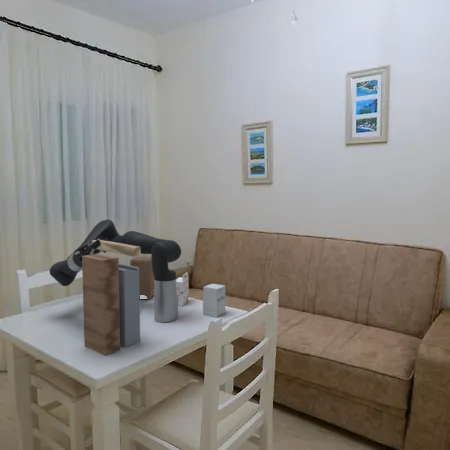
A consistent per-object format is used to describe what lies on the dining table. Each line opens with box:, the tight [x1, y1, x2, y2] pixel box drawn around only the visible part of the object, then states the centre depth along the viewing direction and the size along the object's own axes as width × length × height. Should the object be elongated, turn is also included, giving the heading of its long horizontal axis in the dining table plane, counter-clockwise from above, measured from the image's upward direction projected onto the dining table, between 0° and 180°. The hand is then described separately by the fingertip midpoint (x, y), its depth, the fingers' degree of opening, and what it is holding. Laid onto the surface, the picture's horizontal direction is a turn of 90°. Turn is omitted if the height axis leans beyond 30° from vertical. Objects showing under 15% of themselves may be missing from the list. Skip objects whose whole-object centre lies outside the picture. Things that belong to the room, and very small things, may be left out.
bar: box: [92, 240, 141, 258], centre depth 138 cm, size 3×24×3 cm, turn 53°
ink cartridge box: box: [176, 271, 189, 307], centre depth 183 cm, size 9×5×15 cm, turn 168°
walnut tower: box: [81, 253, 121, 356], centre depth 131 cm, size 6×12×32 cm, turn 53°
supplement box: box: [202, 283, 226, 318], centre depth 168 cm, size 7×7×13 cm
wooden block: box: [129, 256, 154, 301], centre depth 192 cm, size 10×10×20 cm
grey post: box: [119, 263, 141, 348], centre depth 138 cm, size 6×12×27 cm, turn 53°
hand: (103, 241), depth 142 cm, fingers closed on bar, 3 cm apart
